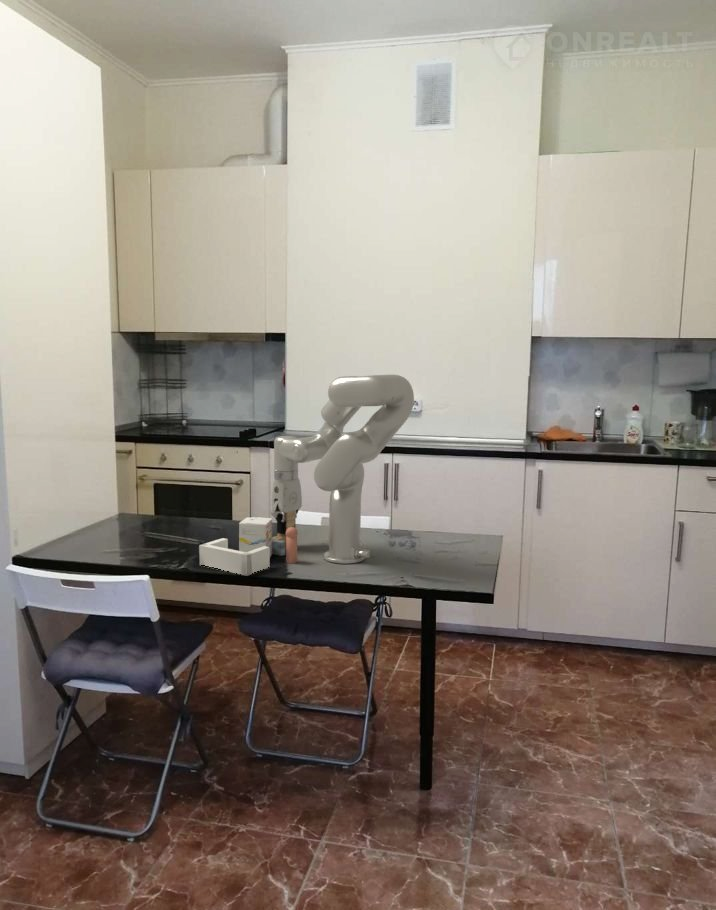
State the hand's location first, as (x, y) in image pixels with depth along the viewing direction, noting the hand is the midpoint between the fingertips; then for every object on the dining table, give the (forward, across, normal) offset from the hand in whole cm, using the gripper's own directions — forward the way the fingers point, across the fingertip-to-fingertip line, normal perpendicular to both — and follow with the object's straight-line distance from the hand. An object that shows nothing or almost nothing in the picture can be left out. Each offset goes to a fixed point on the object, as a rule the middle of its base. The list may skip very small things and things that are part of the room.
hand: (286, 531), depth 231 cm
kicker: (+5, -4, 0) cm, 6 cm away
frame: (+5, -25, 0) cm, 25 cm away
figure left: (+5, -12, -11) cm, 17 cm away
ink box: (+6, -14, 0) cm, 15 cm away
